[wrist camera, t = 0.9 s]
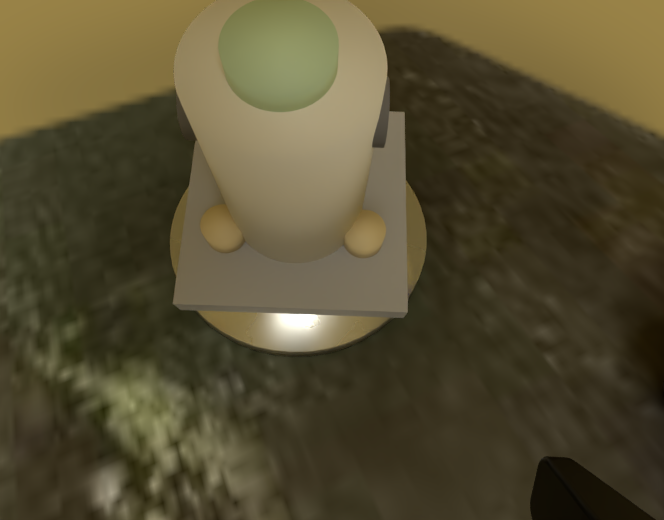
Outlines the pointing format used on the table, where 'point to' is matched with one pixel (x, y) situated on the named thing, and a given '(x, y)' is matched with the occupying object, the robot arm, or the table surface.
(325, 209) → the yellow cylinder stand
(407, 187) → the levelling stand
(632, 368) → the table surface
